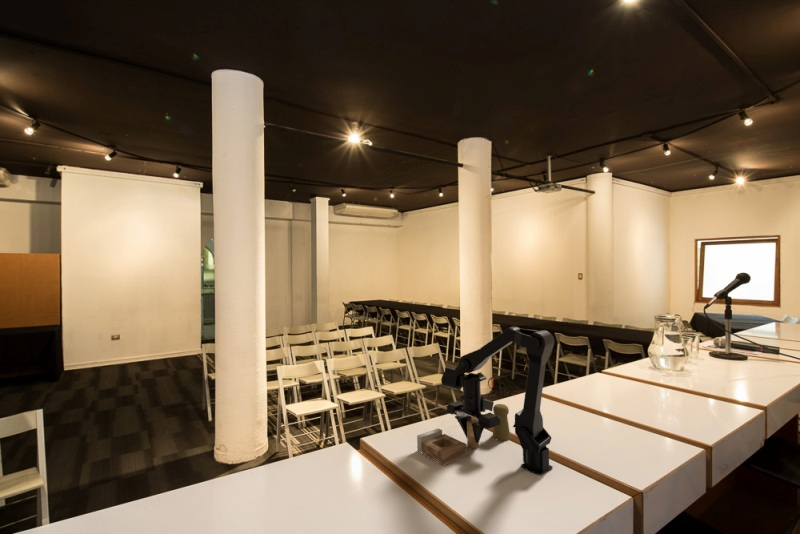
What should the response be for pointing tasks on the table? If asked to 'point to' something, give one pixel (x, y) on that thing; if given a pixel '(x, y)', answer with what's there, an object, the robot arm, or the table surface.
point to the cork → (501, 423)
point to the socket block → (444, 449)
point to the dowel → (471, 436)
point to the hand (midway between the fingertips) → (472, 440)
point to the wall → (427, 437)
